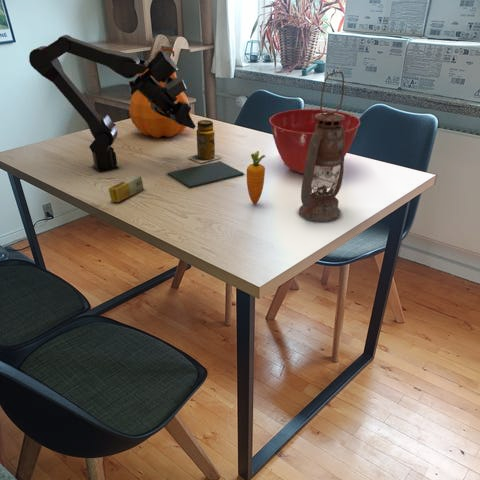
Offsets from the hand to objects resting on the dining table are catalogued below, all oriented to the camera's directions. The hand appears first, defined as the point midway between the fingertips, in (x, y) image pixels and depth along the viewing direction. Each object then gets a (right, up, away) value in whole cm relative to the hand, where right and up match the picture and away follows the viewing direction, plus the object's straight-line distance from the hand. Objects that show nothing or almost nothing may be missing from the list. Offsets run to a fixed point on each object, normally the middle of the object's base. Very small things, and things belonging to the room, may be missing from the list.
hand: (187, 124), depth 160 cm
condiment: (+5, -8, +10) cm, 13 cm away
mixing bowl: (+40, -14, +3) cm, 43 cm away
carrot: (+21, -32, -22) cm, 44 cm away
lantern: (+39, -35, -26) cm, 59 cm away
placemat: (+6, -17, -3) cm, 19 cm away
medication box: (-16, -28, -17) cm, 37 cm away
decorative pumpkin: (-14, +10, +34) cm, 38 cm away
